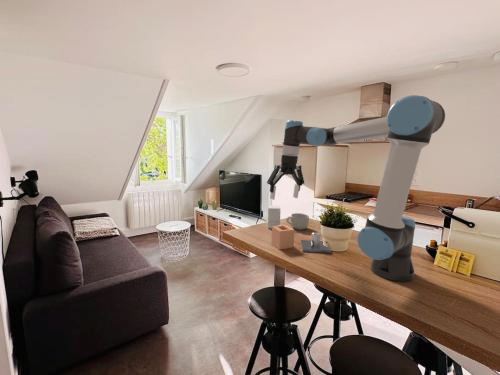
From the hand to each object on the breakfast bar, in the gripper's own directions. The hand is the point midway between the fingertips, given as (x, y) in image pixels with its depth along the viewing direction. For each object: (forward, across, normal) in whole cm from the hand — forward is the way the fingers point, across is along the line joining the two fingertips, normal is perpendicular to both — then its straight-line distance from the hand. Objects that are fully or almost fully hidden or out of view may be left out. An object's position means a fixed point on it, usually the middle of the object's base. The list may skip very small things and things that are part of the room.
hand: (284, 198), depth 124 cm
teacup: (+25, -24, -15) cm, 38 cm away
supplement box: (+26, -12, -23) cm, 37 cm away
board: (+22, -13, +13) cm, 29 cm away
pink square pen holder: (+24, 0, +4) cm, 24 cm away
